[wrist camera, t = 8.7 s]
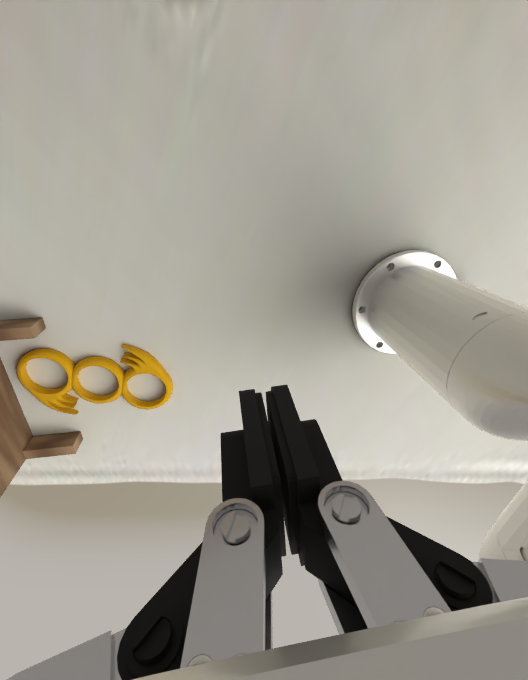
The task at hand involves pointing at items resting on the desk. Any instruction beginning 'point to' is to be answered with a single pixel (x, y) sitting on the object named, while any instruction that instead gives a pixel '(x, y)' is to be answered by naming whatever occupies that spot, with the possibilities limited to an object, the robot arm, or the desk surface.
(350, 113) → the desk surface
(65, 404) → the yellow triple ring ornament
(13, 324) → the display stand
